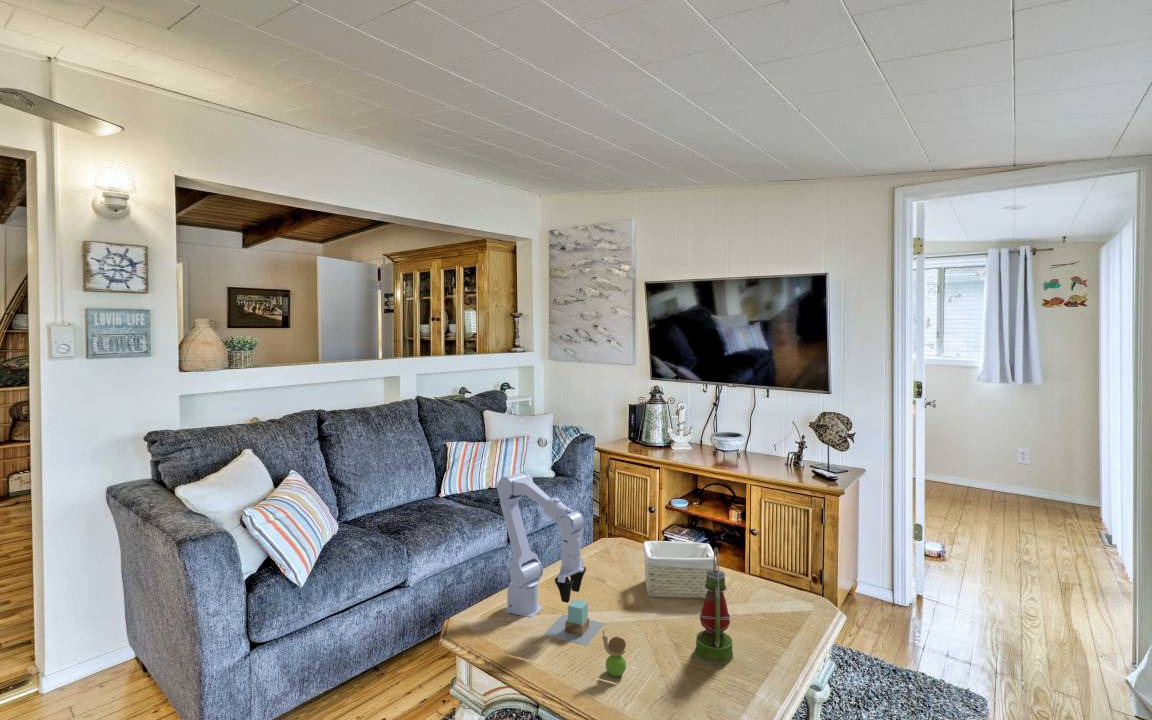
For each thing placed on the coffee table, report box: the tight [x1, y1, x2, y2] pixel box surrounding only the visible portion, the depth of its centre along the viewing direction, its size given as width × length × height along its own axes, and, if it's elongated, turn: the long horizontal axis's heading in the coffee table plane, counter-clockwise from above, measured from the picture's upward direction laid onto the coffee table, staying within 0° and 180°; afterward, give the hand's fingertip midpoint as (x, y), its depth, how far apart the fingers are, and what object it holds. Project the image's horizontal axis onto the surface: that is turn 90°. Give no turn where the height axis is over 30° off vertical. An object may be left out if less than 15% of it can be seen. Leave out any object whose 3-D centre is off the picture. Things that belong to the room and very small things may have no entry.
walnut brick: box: [565, 617, 590, 636], centre depth 180 cm, size 6×6×3 cm
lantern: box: [694, 547, 734, 665], centre depth 167 cm, size 14×11×30 cm
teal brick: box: [567, 598, 589, 625], centre depth 179 cm, size 4×4×5 cm
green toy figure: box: [601, 630, 627, 678], centre depth 157 cm, size 5×6×12 cm
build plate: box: [543, 613, 605, 646], centre depth 180 cm, size 14×14×1 cm
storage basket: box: [642, 540, 717, 600], centre depth 208 cm, size 24×16×15 cm
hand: (570, 596), depth 180 cm, fingers open, 7 cm apart
